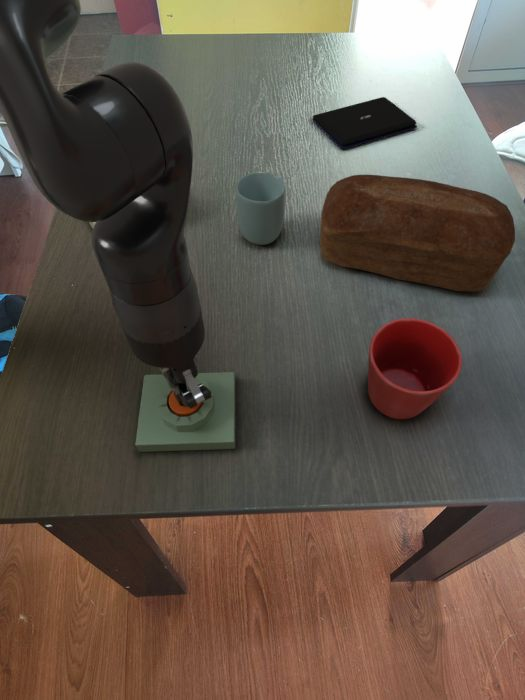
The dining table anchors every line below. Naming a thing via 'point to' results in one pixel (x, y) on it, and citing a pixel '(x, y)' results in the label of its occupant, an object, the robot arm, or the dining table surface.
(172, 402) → the power button
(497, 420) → the dining table surface
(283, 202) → the cup
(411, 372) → the flower pot
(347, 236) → the bread
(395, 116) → the laptop
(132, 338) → the robot arm
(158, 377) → the block
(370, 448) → the dining table surface
